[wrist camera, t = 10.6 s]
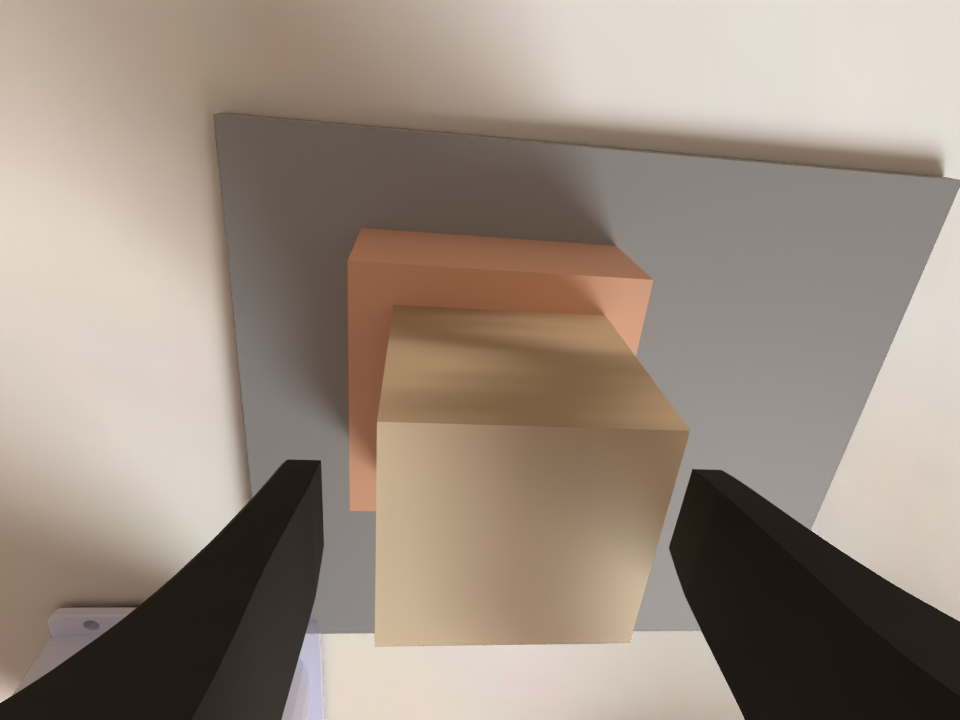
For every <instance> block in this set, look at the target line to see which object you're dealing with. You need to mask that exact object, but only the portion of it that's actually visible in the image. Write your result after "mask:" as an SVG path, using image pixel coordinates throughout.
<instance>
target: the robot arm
mask: <svg viewBox="0 0 960 720" xmlns="http://www.w3.org/2000/svg"><path fill="white" fill-rule="evenodd" d="M323 548H324V530H323V501H322V471H321V460H289V459H287V460H286V461H285V462H284V463H282V464H281V465H280V467H279V468H278V469H277V470H276V471H275V472H274V474H273V475H272V476H271V477H270V478H269V480H268V481H267V482H266V483H265V484H264V485H263V487H262V488H261V489H260V490H259V491H258V492H257V493H256V494H255V496H254V497H253V498H252V499H251V500H250V501H249V502H248V503H247V504H246V506H245V507H244V508H243V509H242V510H241V511H240V512H239V513H238V514H237V515H236V516H235V517H234V518H233V519H232V520H231V521H230V522H229V523H228V524H227V526H226V527H225V528H224V529H223V530H222V531H221V532H220V533H219V534H218V535H217V536H216V537H215V538H214V539H213V540H212V541H211V542H210V543H209V544H208V545H207V546H206V547H205V548H204V549H202V550H201V551H200V552H199V553H198V554H197V555H196V556H195V557H194V558H193V559H192V560H191V561H190V562H189V563H188V564H187V565H185V566H184V567H183V568H182V569H181V570H180V571H179V572H178V573H177V574H176V575H175V576H174V577H172V578H171V579H170V580H169V581H168V582H167V583H166V584H164V585H163V586H162V587H161V588H160V589H159V590H157V591H156V592H155V593H154V594H153V595H152V596H150V597H149V598H148V599H147V600H146V601H144V602H143V603H142V604H141V605H139V606H138V607H118V608H59V609H57V610H55V611H54V612H53V613H52V615H51V616H50V618H49V619H48V621H47V625H48V628H49V631H50V634H51V638H50V640H49V641H48V643H47V644H46V646H45V647H44V649H43V650H42V652H41V653H40V655H39V656H38V658H37V659H36V661H35V662H34V664H33V665H32V667H31V668H30V670H29V671H28V673H27V674H26V676H25V677H24V679H23V680H22V682H21V683H20V685H19V686H18V688H17V689H16V691H15V692H14V694H13V695H12V696H11V697H10V698H8V699H6V700H5V701H3V702H1V703H0V720H325V694H324V669H323V644H322V634H319V632H318V634H311V632H314V633H317V630H316V631H315V630H314V631H313V630H312V626H314V627H313V629H314V628H315V627H316V626H318V627H319V624H317V622H315V623H314V622H312V623H313V624H312V623H311V622H310V621H316V619H315V618H313V617H312V619H310V618H311V617H310V616H311V612H312V609H313V605H314V601H315V598H316V592H317V586H318V580H319V574H320V568H321V561H322V555H323ZM669 550H670V553H671V557H672V560H673V563H674V566H675V569H676V572H677V575H678V578H679V581H680V584H681V587H682V589H683V592H684V595H685V597H686V600H687V602H688V604H689V606H690V608H691V610H692V612H693V614H694V616H695V618H696V621H697V623H698V625H699V627H700V629H701V631H702V633H703V635H704V637H705V639H706V641H707V643H708V645H709V647H710V649H711V651H712V653H713V655H714V657H715V659H716V661H717V663H718V665H719V667H720V669H721V671H722V673H723V675H724V677H725V679H726V681H727V683H728V685H729V687H730V689H731V691H732V693H733V695H734V697H735V699H736V702H737V704H738V706H739V708H740V710H741V712H742V714H743V716H744V719H745V720H960V622H959V621H958V620H956V619H954V618H952V617H950V616H948V615H946V614H945V613H943V612H941V611H939V610H938V609H936V608H934V607H932V606H930V605H929V604H927V603H925V602H923V601H922V600H920V599H918V598H916V597H914V596H913V595H911V594H909V593H907V592H906V591H904V590H902V589H901V588H899V587H897V586H895V585H894V584H892V583H890V582H889V581H887V580H886V579H884V578H882V577H881V576H879V575H878V574H876V573H874V572H873V571H871V570H870V569H868V568H867V567H865V566H863V565H862V564H860V563H859V562H857V561H856V560H854V559H852V558H851V557H849V556H848V555H846V554H845V553H843V552H842V551H840V550H839V549H837V548H836V547H834V546H833V545H831V544H830V543H828V542H827V541H825V540H824V539H822V538H821V537H819V536H818V535H816V534H815V533H814V532H812V531H811V530H809V529H808V528H806V527H805V526H803V525H802V524H801V523H799V522H798V521H796V520H795V519H793V518H792V517H791V516H789V515H788V514H786V513H785V512H784V511H782V510H781V509H779V508H778V507H776V506H775V505H774V504H772V503H771V502H769V501H768V500H767V499H765V498H764V497H762V496H761V495H759V494H758V493H757V492H755V491H754V490H752V489H751V488H749V487H748V486H746V485H745V484H743V483H742V482H740V481H739V480H737V479H736V478H734V477H733V476H731V475H729V474H728V473H726V472H724V471H723V470H708V469H692V472H691V476H690V479H689V482H688V485H687V489H686V492H685V495H684V499H683V502H682V505H681V509H680V512H679V515H678V519H677V522H676V525H675V529H674V532H673V535H672V539H671V542H670V545H669ZM313 619H314V620H313ZM308 623H310V624H308ZM309 625H310V626H309ZM311 625H312V626H311ZM315 625H316V626H315ZM308 626H309V627H310V628H311V630H309V629H310V628H307V627H308ZM318 627H317V629H318V631H319V628H318ZM307 629H308V630H309V631H307V632H309V633H310V634H309V633H307V632H306V630H307Z"/></svg>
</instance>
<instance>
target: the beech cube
mask: <svg viewBox="0 0 960 720" xmlns="http://www.w3.org/2000/svg"><path fill="white" fill-rule="evenodd" d="M689 433H690V430H689V428H688V427H687V426H686V424H685V423H684V422H683V420H682V419H681V417H680V416H679V415H678V413H677V412H676V411H675V409H674V408H673V407H672V405H671V404H670V403H669V401H668V400H667V398H666V397H665V396H664V394H663V393H662V392H661V390H660V389H659V388H658V386H657V385H656V384H655V382H654V381H653V379H652V378H651V377H650V375H649V374H648V373H647V371H646V370H645V369H644V367H643V366H642V365H641V363H640V362H639V360H638V359H637V358H636V356H635V355H634V354H633V352H632V351H631V350H630V348H629V347H628V345H627V344H626V343H625V341H624V340H623V339H622V337H621V336H620V335H619V333H618V332H617V331H616V329H615V328H614V326H613V325H612V324H611V322H610V321H609V320H608V318H607V317H606V316H604V315H584V314H564V313H544V312H525V311H505V310H485V309H465V308H445V307H425V306H406V305H394V306H393V313H392V320H391V327H390V334H389V341H388V348H387V355H386V362H385V369H384V376H383V383H382V390H381V397H380V404H379V411H378V418H377V465H376V568H375V647H381V646H455V645H529V644H602V643H630V640H631V636H632V633H633V629H634V626H635V622H636V619H637V615H638V612H639V608H640V605H641V601H642V598H643V594H644V591H645V587H646V584H647V580H648V577H649V573H650V570H651V566H652V563H653V559H654V556H655V552H656V549H657V545H658V542H659V538H660V535H661V531H662V528H663V524H664V521H665V517H666V514H667V510H668V507H669V503H670V500H671V496H672V493H673V489H674V486H675V482H676V479H677V475H678V472H679V468H680V465H681V461H682V458H683V454H684V451H685V447H686V444H687V440H688V437H689Z"/></svg>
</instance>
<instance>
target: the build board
mask: <svg viewBox="0 0 960 720" xmlns="http://www.w3.org/2000/svg"><path fill="white" fill-rule="evenodd" d="M214 124H215V134H216V144H217V154H218V164H219V174H220V184H221V194H222V204H223V214H224V224H225V234H226V244H227V254H228V264H229V274H230V284H231V294H232V304H233V314H234V324H235V334H236V344H237V354H238V364H239V374H240V384H241V394H242V404H243V414H244V424H245V434H246V444H247V454H248V464H249V474H250V484H251V494H252V498H253V497H254V496H255V494H256V493H257V492H258V491H259V490H260V489H261V488H262V487H263V485H264V484H265V483H266V482H267V481H268V480H269V478H270V477H271V476H272V475H273V474H274V472H275V471H276V470H277V469H278V468H279V467H280V465H281V464H282V463H284V462H285V461H286V460H287V459H289V460H321V471H322V501H323V530H324V548H323V555H322V561H321V568H320V574H319V580H318V586H317V592H316V598H315V601H314V605H313V609H312V612H311V616H310V617H311V618H310V619H312V617H313V618H315V619H316V621H310V622H311V623H312V622H314V623H315V622H317V624H319V627H318V626H316V625H315V626H316V627H315V628H314V629H313V627H314V626H312V625H311V626H312V630H313V631H314V630H315V631H316V630H317V633H314V632H311V634H318V632H319V634H330V633H375V568H376V465H377V418H378V411H379V404H380V397H381V390H382V383H383V376H384V369H385V362H386V355H387V348H388V341H389V334H390V327H391V320H392V313H393V306H394V305H406V306H425V307H445V308H465V309H485V310H505V311H525V312H544V313H564V314H584V315H604V316H606V317H607V318H608V320H609V321H610V322H611V324H612V325H613V326H614V328H615V329H616V331H617V332H618V333H619V335H620V336H621V337H622V339H623V340H624V341H625V343H626V344H627V345H628V347H629V348H630V350H631V351H632V352H633V354H634V355H635V356H636V358H637V359H638V360H639V362H640V363H641V365H642V366H643V367H644V369H645V370H646V371H647V373H648V374H649V375H650V377H651V378H652V379H653V381H654V382H655V384H656V385H657V386H658V388H659V389H660V390H661V392H662V393H663V394H664V396H665V397H666V398H667V400H668V401H669V403H670V404H671V405H672V407H673V408H674V409H675V411H676V412H677V413H678V415H679V416H680V417H681V419H682V420H683V422H684V423H685V424H686V426H687V427H688V428H689V430H690V433H689V437H688V440H687V444H686V447H685V451H684V454H683V458H682V461H681V465H680V468H679V472H678V475H677V479H676V482H675V486H674V489H673V493H672V496H671V500H670V503H669V507H668V510H667V514H666V517H665V521H664V524H663V528H662V531H661V535H660V538H659V542H658V545H657V549H656V552H655V556H654V559H653V563H652V566H651V570H650V573H649V577H648V580H647V584H646V587H645V591H644V594H643V598H642V601H641V605H640V608H639V612H638V615H637V619H636V622H635V626H634V629H633V631H701V629H700V627H699V625H698V623H697V621H696V618H695V616H694V614H693V612H692V610H691V608H690V606H689V604H688V602H687V600H686V597H685V595H684V592H683V589H682V587H681V584H680V581H679V578H678V575H677V572H676V569H675V566H674V563H673V560H672V557H671V553H670V550H669V545H670V542H671V539H672V535H673V532H674V529H675V525H676V522H677V519H678V515H679V512H680V509H681V505H682V502H683V499H684V495H685V492H686V489H687V485H688V482H689V479H690V476H691V472H692V469H708V470H723V471H724V472H726V473H728V474H729V475H731V476H733V477H734V478H736V479H737V480H739V481H740V482H742V483H743V484H745V485H746V486H748V487H749V488H751V489H752V490H754V491H755V492H757V493H758V494H759V495H761V496H762V497H764V498H765V499H767V500H768V501H769V502H771V503H772V504H774V505H775V506H776V507H778V508H779V509H781V510H782V511H784V512H785V513H786V514H788V515H789V516H791V517H792V518H793V519H795V520H796V521H798V522H799V523H801V524H802V525H803V526H805V527H806V528H808V529H809V530H811V528H812V525H813V523H814V521H815V519H816V516H817V514H818V512H819V509H820V507H821V505H822V502H823V500H824V498H825V496H826V493H827V491H828V489H829V486H830V484H831V482H832V479H833V477H834V475H835V473H836V470H837V468H838V466H839V463H840V461H841V459H842V456H843V454H844V452H845V450H846V447H847V445H848V443H849V440H850V438H851V436H852V433H853V431H854V429H855V427H856V424H857V422H858V420H859V417H860V415H861V413H862V410H863V408H864V406H865V404H866V401H867V399H868V397H869V394H870V392H871V390H872V387H873V385H874V383H875V381H876V378H877V376H878V374H879V371H880V369H881V367H882V364H883V362H884V360H885V358H886V355H887V353H888V351H889V348H890V346H891V344H892V341H893V339H894V337H895V335H896V332H897V330H898V328H899V325H900V323H901V321H902V319H903V316H904V314H905V312H906V309H907V307H908V305H909V302H910V300H911V298H912V296H913V293H914V291H915V289H916V286H917V284H918V282H919V279H920V277H921V275H922V273H923V270H924V268H925V266H926V263H927V261H928V259H929V256H930V254H931V252H932V250H933V247H934V245H935V243H936V240H937V238H938V236H939V233H940V231H941V229H942V227H943V224H944V222H945V220H946V217H947V215H948V213H949V210H950V208H951V206H952V204H953V201H954V199H955V197H956V194H957V192H958V190H959V187H960V180H957V179H952V178H947V177H938V176H927V175H915V174H904V173H893V172H882V171H870V170H859V169H848V168H837V167H825V166H814V165H803V164H792V163H780V162H769V161H758V160H747V159H735V158H724V157H713V156H702V155H690V154H679V153H668V152H657V151H645V150H634V149H623V148H612V147H600V146H589V145H578V144H567V143H555V142H544V141H533V140H522V139H510V138H499V137H488V136H477V135H465V134H454V133H443V132H432V131H420V130H409V129H398V128H387V127H375V126H364V125H353V124H342V123H330V122H319V121H308V120H297V119H285V118H274V117H263V116H252V115H240V114H229V113H218V114H214ZM313 620H314V619H313ZM308 624H310V623H308ZM312 624H313V623H312ZM309 626H310V625H309ZM309 626H308V627H307V628H310V627H309ZM317 627H318V628H319V631H318V629H317ZM309 630H311V628H310V629H309ZM309 630H308V629H307V630H306V632H307V631H309ZM307 633H309V632H307ZM309 634H310V633H309Z"/></svg>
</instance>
